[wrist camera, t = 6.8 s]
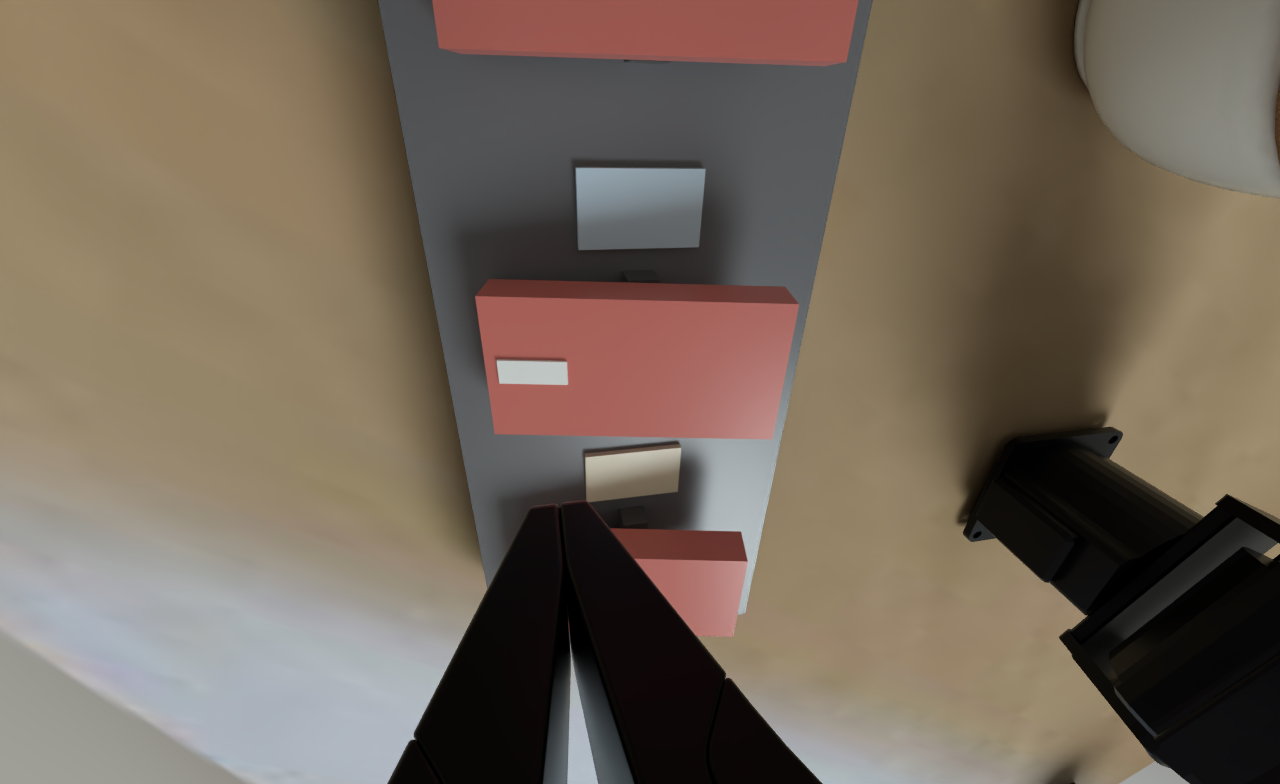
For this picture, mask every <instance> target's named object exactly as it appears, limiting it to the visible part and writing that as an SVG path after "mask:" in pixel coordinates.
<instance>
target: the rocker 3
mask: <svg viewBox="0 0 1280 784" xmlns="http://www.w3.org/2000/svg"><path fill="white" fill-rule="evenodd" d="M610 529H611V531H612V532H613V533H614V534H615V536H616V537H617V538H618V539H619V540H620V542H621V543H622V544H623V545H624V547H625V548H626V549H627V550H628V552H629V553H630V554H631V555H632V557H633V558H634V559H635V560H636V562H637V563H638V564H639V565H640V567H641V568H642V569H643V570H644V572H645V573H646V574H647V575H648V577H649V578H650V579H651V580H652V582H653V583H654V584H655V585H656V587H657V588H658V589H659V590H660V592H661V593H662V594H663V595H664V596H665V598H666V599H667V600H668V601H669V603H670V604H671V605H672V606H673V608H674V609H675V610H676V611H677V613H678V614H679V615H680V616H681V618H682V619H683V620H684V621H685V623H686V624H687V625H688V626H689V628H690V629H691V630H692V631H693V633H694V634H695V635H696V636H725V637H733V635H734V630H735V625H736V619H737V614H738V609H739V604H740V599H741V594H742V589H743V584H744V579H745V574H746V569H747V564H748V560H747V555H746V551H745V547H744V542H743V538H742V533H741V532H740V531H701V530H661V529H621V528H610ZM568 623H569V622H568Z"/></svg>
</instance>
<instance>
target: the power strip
mask: <svg viewBox="0 0 1280 784" xmlns="http://www.w3.org/2000/svg"><path fill="white" fill-rule="evenodd" d="M872 1H873V0H859V1H858V6H857V11H856V16H855V21H854V26H853V31H852V36H851V41H850V46H849V51H848V56H847V62H844V63H839V64H834V65H829V66H801V65H772V64H742V63H713V62H684V61H654V60H625V59H595V58H566V57H537V56H507V55H478V54H459V53H456V52H452V51H448V50H444V49H440V48H439V45H438V38H437V31H436V24H435V17H434V10H433V3H432V0H378V4H379V9H380V14H381V20H382V25H383V30H384V36H385V41H386V47H387V52H388V57H389V63H390V68H391V73H392V79H393V84H394V90H395V95H396V100H397V106H398V111H399V116H400V122H401V127H402V133H403V138H404V143H405V149H406V154H407V159H408V165H409V170H410V176H411V181H412V186H413V192H414V197H415V202H416V208H417V213H418V219H419V224H420V229H421V235H422V240H423V245H424V251H425V256H426V262H427V267H428V272H429V278H430V283H431V288H432V294H433V299H434V304H435V310H436V315H437V321H438V326H439V331H440V337H441V342H442V347H443V353H444V358H445V364H446V369H447V374H448V380H449V385H450V390H451V396H452V401H453V407H454V412H455V417H456V423H457V428H458V433H459V439H460V444H461V450H462V455H463V460H464V466H465V471H466V476H467V482H468V487H469V493H470V498H471V503H472V509H473V514H474V519H475V525H476V530H477V536H478V541H479V546H480V552H481V557H482V562H483V568H484V573H485V578H486V584H487V589H488V588H489V586H490V584H491V582H492V580H493V578H494V576H495V574H496V572H497V570H498V568H499V566H500V564H501V562H502V560H503V558H504V556H505V554H506V553H507V551H508V549H509V547H510V545H511V543H512V541H513V539H514V537H515V535H516V533H517V531H518V529H519V527H520V525H521V523H522V521H523V519H524V517H525V516H526V514H527V512H528V510H529V509H530V508H531V507H532V506H536V505H545V504H553V503H554V504H557V505H558V506H559V507H560V504H561V503H563V502H570V501H578V500H586V501H588V502H589V503H590V504H591V506H592V507H593V508H594V509H595V511H596V512H597V513H598V514H599V516H600V517H601V518H602V519H603V521H604V522H605V523H606V524H607V526H608V527H609V528H621V529H661V530H701V531H740V532H741V533H742V538H743V542H744V547H745V551H746V555H747V560H748V564H747V569H746V574H745V579H744V584H743V589H742V594H741V599H740V604H739V609H738V614H744V613H745V610H746V605H747V601H748V596H749V591H750V586H751V581H752V577H753V572H754V567H755V562H756V557H757V553H758V548H759V543H760V538H761V533H762V529H763V524H764V519H765V514H766V509H767V505H768V500H769V495H770V490H771V485H772V481H773V476H774V471H775V466H776V461H777V457H778V452H779V447H780V442H781V437H782V433H783V428H784V423H785V418H786V413H787V409H788V404H789V399H790V394H791V389H792V385H793V380H794V375H795V370H796V365H797V361H798V356H799V351H800V346H801V341H802V337H803V332H804V327H805V322H806V317H807V313H808V308H809V303H810V298H811V293H812V289H813V284H814V279H815V274H816V269H817V265H818V260H819V255H820V250H821V245H822V241H823V236H824V231H825V226H826V221H827V217H828V212H829V207H830V202H831V197H832V193H833V188H834V183H835V178H836V173H837V169H838V164H839V159H840V154H841V149H842V145H843V140H844V135H845V130H846V125H847V121H848V116H849V111H850V106H851V101H852V97H853V92H854V87H855V82H856V77H857V73H858V68H859V63H860V58H861V53H862V49H863V44H864V39H865V34H866V29H867V25H868V20H869V15H870V10H871V5H872ZM489 279H509V280H549V281H588V282H627V283H666V284H705V285H744V286H783V287H786V288H787V290H788V291H789V292H790V293H791V295H792V296H793V297H794V298H795V300H796V301H797V302H798V303H799V308H798V313H797V318H796V323H795V328H794V333H793V338H792V344H791V349H790V354H789V359H788V364H787V369H786V374H785V379H784V384H783V389H782V394H781V399H780V404H779V409H778V414H777V419H776V424H775V429H774V435H773V440H772V439H719V438H666V437H614V436H561V435H509V434H495V433H494V426H493V419H492V412H491V405H490V397H489V390H488V383H487V376H486V369H485V362H484V355H483V348H482V341H481V334H480V327H479V320H478V313H477V306H476V299H475V296H476V294H477V293H478V292H479V291H480V290H481V288H482V287H483V286H484V285H485V284H486V282H487V281H488V280H489ZM559 513H560V511H559ZM738 614H737V615H738ZM569 637H570V633H569Z"/></svg>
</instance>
